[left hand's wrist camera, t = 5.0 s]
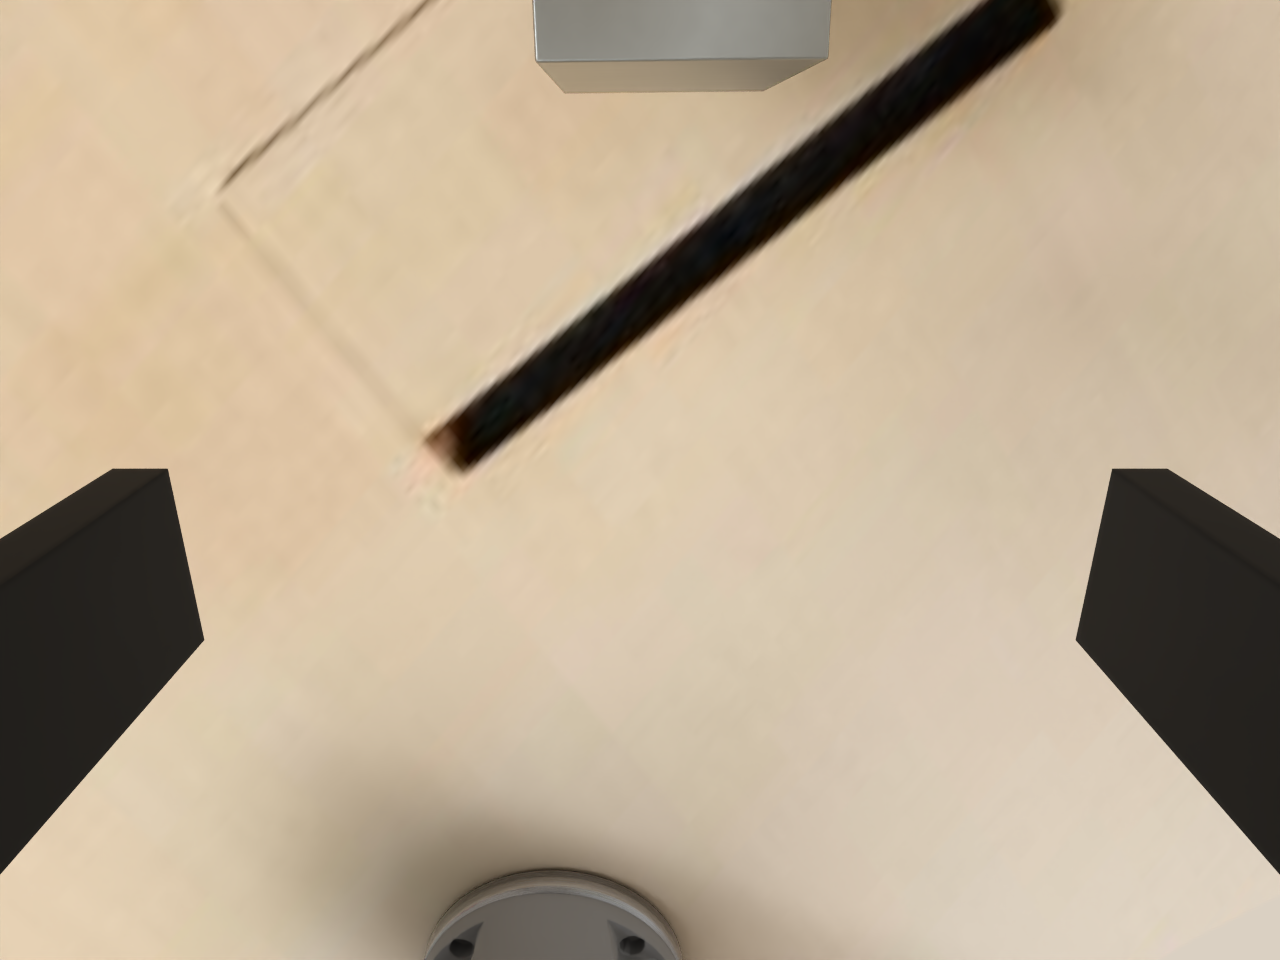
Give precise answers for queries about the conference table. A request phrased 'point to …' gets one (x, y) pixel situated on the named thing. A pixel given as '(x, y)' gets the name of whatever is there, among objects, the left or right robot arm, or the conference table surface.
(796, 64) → the box
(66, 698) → the left robot arm
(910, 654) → the conference table surface
